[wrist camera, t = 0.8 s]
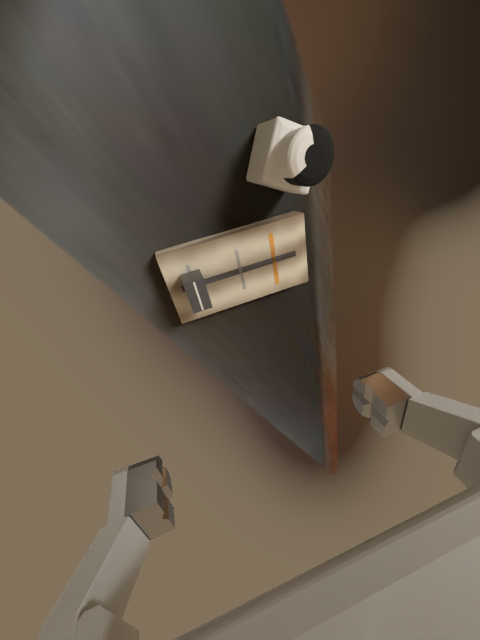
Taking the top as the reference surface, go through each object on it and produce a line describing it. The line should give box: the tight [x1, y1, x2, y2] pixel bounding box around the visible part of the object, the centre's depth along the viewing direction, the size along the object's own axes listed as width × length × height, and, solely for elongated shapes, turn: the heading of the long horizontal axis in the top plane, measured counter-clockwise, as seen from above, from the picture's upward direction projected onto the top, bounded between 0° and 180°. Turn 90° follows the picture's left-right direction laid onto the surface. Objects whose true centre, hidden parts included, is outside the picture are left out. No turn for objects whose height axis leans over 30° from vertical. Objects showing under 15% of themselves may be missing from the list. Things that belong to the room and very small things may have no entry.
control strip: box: [155, 211, 308, 324], centre depth 44 cm, size 12×24×3 cm, turn 103°
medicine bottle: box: [246, 116, 334, 195], centre depth 34 cm, size 7×7×12 cm
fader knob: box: [180, 269, 213, 314], centre depth 39 cm, size 5×3×4 cm, turn 13°
